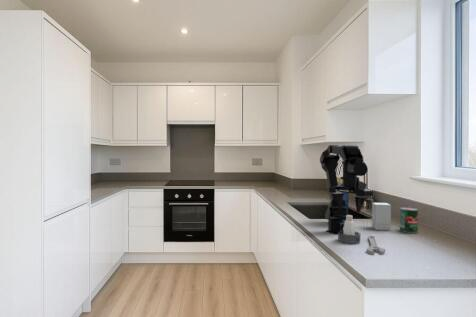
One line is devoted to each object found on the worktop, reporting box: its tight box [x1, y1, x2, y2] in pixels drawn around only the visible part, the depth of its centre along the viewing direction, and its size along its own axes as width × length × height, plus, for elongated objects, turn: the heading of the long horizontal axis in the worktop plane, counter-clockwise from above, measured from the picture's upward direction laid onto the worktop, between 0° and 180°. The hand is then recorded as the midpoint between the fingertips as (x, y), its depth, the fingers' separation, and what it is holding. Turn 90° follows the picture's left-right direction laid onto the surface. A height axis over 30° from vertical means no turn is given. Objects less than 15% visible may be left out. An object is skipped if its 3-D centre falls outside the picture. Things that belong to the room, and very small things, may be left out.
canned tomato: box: [399, 206, 419, 234], centre depth 152 cm, size 8×8×11 cm
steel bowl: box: [337, 229, 361, 245], centre depth 133 cm, size 9×9×4 cm
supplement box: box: [371, 202, 392, 231], centre depth 157 cm, size 7×7×13 cm
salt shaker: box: [343, 214, 356, 235], centre depth 133 cm, size 5×5×11 cm
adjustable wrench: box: [366, 235, 386, 256], centre depth 126 cm, size 25×6×2 cm, turn 156°
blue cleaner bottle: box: [337, 176, 349, 228], centre depth 166 cm, size 6×12×25 cm, turn 175°
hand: (349, 211), depth 133 cm, fingers open, 9 cm apart
